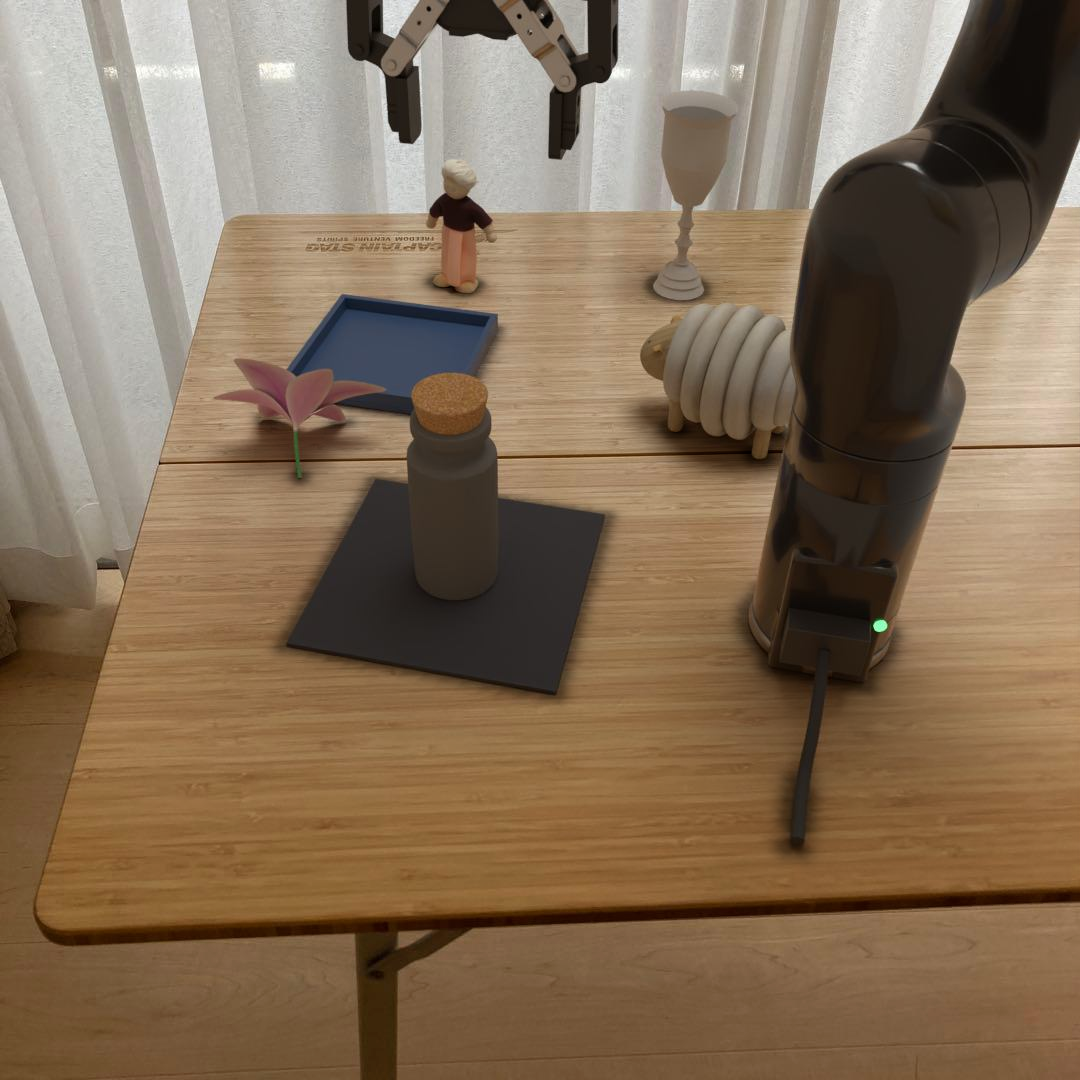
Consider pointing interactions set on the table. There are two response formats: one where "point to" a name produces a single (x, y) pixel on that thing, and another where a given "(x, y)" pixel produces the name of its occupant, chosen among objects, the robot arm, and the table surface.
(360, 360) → the tray
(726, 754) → the table surface
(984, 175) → the robot arm
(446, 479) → the bottle
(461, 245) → the grandmother figurine
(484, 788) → the table surface
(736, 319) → the toy sheep
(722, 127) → the chalice
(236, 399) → the lily
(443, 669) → the mat
